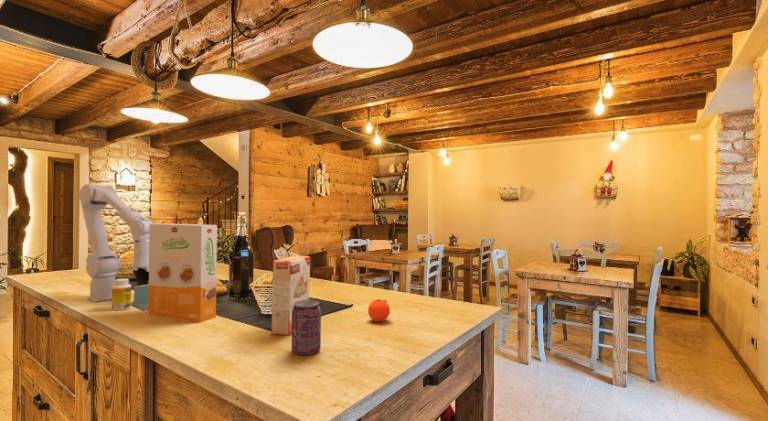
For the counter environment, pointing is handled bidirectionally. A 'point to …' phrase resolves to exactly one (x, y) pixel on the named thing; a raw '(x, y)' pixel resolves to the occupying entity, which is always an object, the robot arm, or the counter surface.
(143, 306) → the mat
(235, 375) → the counter surface
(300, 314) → the beverage can
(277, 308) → the cracker box
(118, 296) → the supplement bottle
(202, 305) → the cereal box
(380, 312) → the clementine
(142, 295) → the tile
